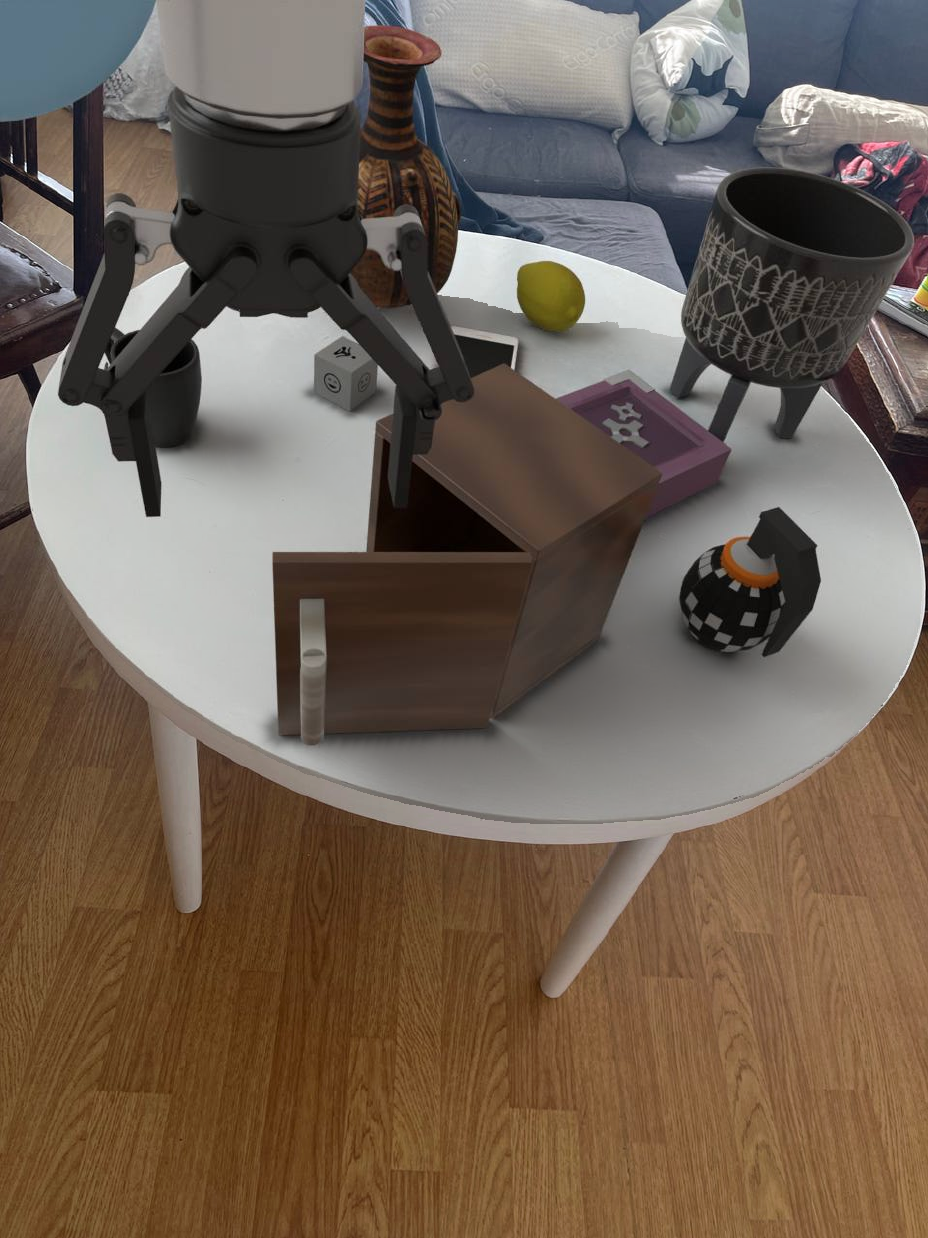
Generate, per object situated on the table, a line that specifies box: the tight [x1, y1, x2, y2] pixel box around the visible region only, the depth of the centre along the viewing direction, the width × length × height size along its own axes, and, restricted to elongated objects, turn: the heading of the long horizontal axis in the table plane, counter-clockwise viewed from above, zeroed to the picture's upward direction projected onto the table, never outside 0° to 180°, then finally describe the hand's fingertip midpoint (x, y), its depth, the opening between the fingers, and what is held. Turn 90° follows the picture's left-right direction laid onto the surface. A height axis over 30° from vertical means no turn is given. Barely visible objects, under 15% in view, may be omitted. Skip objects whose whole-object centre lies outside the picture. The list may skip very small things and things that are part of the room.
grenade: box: [678, 506, 822, 658], centre depth 80 cm, size 11×10×15 cm
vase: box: [350, 24, 462, 309], centre depth 104 cm, size 21×18×30 cm
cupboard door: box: [271, 551, 533, 746], centre depth 64 cm, size 7×17×20 cm, turn 98°
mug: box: [104, 327, 203, 448], centre depth 91 cm, size 8×12×10 cm
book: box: [555, 369, 733, 519], centre depth 97 cm, size 25×16×5 cm, turn 128°
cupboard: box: [365, 364, 663, 719], centre depth 75 cm, size 14×17×20 cm
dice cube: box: [313, 335, 379, 412], centre depth 101 cm, size 5×5×5 cm
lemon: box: [516, 260, 586, 333], centre depth 115 cm, size 11×8×8 cm
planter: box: [668, 166, 915, 443], centre depth 98 cm, size 20×20×26 cm
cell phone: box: [450, 325, 519, 378], centre depth 107 cm, size 9×18×1 cm, turn 173°
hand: (279, 496), depth 51 cm, fingers open, 13 cm apart
